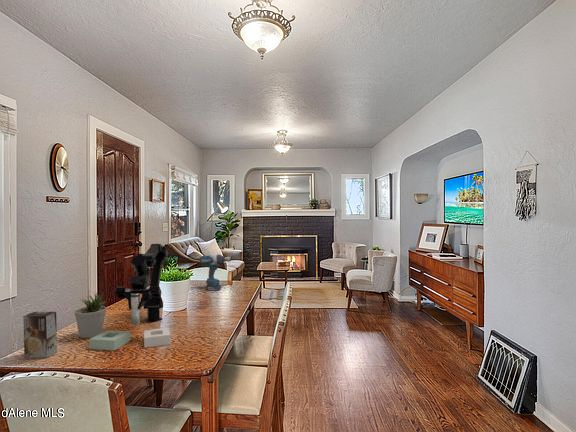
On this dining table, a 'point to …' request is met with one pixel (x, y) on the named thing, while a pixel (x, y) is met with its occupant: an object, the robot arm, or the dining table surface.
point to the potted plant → (90, 317)
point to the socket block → (156, 337)
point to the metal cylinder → (135, 308)
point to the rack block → (109, 340)
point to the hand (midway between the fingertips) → (134, 309)
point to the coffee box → (40, 334)
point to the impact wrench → (213, 269)
